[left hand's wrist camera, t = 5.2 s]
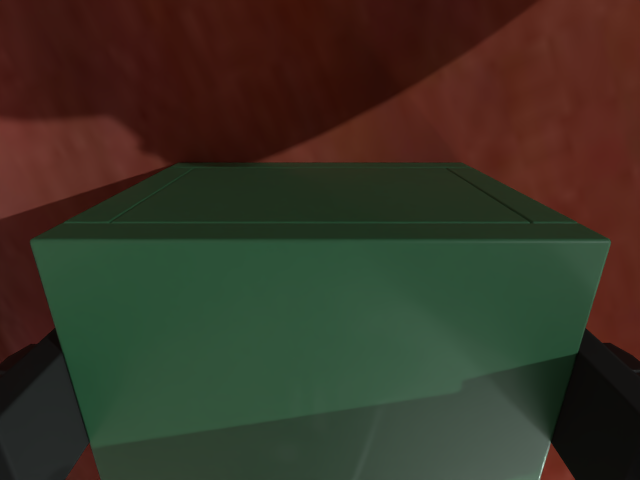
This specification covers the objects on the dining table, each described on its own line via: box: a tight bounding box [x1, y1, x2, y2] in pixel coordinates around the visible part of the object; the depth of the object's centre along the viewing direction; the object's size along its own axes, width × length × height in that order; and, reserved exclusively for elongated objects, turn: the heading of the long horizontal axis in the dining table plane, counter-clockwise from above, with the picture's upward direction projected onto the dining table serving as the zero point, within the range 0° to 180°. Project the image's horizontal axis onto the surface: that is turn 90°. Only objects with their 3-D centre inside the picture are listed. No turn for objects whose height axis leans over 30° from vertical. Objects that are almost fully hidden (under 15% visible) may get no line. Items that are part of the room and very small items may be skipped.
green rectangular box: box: [30, 163, 611, 480], centre depth 15 cm, size 20×11×8 cm, turn 0°
